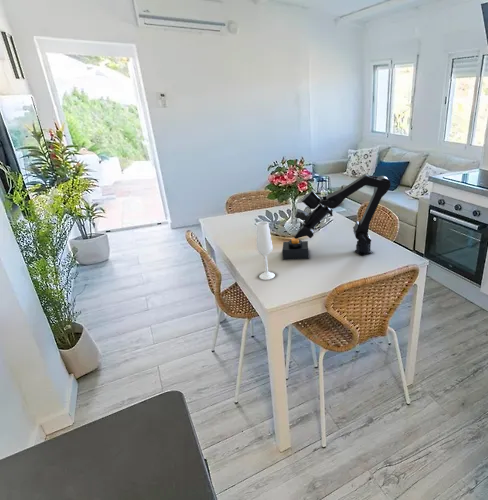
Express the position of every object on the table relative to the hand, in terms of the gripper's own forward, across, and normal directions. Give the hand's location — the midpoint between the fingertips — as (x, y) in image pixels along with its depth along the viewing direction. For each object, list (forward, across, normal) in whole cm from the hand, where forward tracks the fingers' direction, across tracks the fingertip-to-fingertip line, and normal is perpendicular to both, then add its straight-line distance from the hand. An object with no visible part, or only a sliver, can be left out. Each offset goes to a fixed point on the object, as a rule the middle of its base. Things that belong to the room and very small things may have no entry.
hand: (294, 237), depth 167 cm
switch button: (+2, 0, +2) cm, 2 cm away
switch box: (+6, 0, +6) cm, 9 cm away
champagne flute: (+15, +21, -2) cm, 26 cm away
